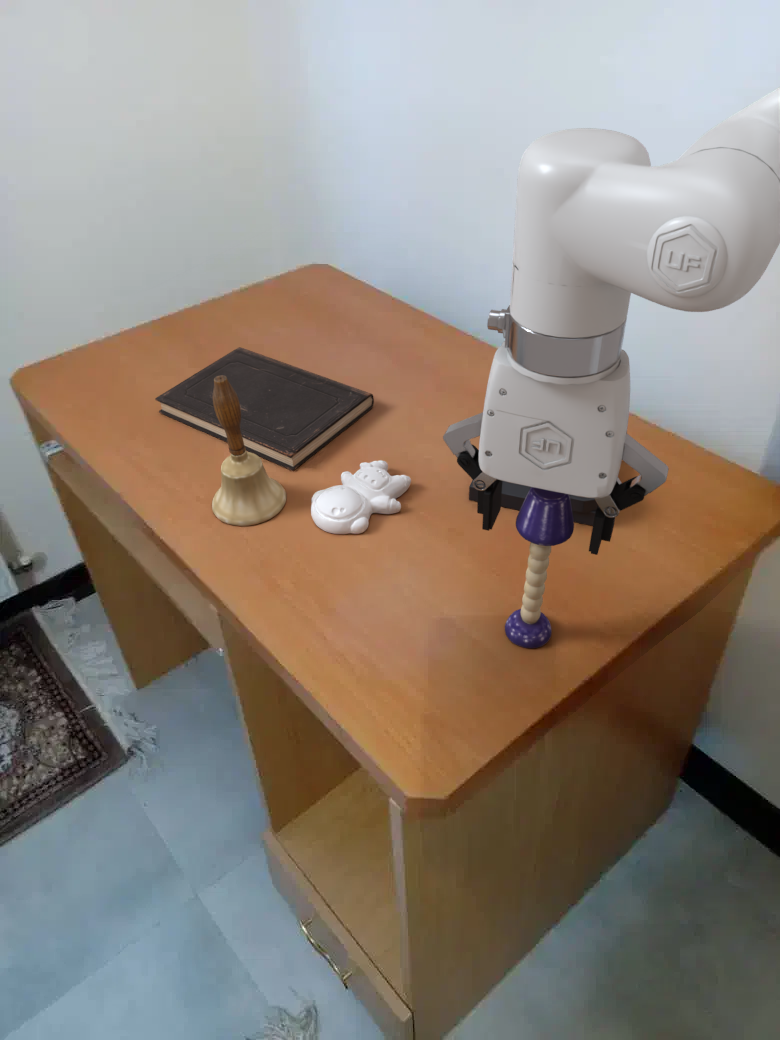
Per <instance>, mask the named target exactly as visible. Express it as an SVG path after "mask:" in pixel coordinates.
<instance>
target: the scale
mask: <svg viewBox="0 0 780 1040" xmlns="http://www.w3.org/2000/svg"><path fill="white" fill-rule="evenodd" d="M473 481H474V480H473V479H471V482H470V484H469V486H468V500H469V501H474V502H477V503H478V490H477V489H475V488H474V486H473ZM530 488H531V487H530V486H525V485H520V484H515V483H510V482H506V481H502V497H501V508H505V509H512V510H515V511H520V509H521V506H522V504H523V502H524V500H525V498H526V496H527V494H528V492H529V490H530ZM570 500H571V506H572V513H573V520H574V523H577V524H581V525H586V526H592V527H593V522H594V517H595V513H596V510H597V506H598V504H597V502H596V500H595V499H594V498H586V497H580V496H575V495H570Z"/></svg>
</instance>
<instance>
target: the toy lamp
mask: <svg viewBox="0 0 780 1040" xmlns="http://www.w3.org/2000/svg"><path fill="white" fill-rule="evenodd" d="M515 528H516V532H518V534H519V535H520V537H522V538H523V539H524V540H526V541H527V542H530V544H529V547H528V551H529V555H528V558H527V568H526V569H525V582H524V585H523V592H524V593H523V595H522V600H521V603H522V605H521V607H520V608H519V609H517V610H514V611H513V612H512V613H511V614H510V615H509V616H508V618H507V619H506V621H505V624H504V632H505V635H506V637H507V639H508V640H509V641H510V642H511V643H513V644H514V645H516V646H518V647H520V648H521V647H522V648H525V649H536V648H540V647H543V646H545V644H547V643H548V642H549V641H550V639H551V637H552V632H553V631H552V625H551V621H550V620H549V618H548V617H547V616H546V615H545V613H543V612H542V611H541V607H542V605H543V603H544V602H543V601H544V598H543V595H544V594H545V591H546V585H545V583H546V581H547V578H548V571H547V570H548V568H549V566H550V555H551V553H552V547H555V546H558V545H561V544H563V543H565V542H567V541H568V540H570V538H571V537H572V535H573V534H574V530H575V529H574V528H575V522H574V520H573V513H572V506H571V500H570V495H569V494H564V493H559V492H554V491H549V490H544V489H539V488H534V487H531V488H530V490H529V492H528V494H527V496H526V498H525V500H524V502H523V504H522V506H521V509H520V510H518V513H517V516H516V518H515Z"/></svg>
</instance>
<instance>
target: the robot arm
mask: <svg viewBox="0 0 780 1040" xmlns="http://www.w3.org/2000/svg"><path fill="white" fill-rule="evenodd" d="M521 155H522V156H521V158H520V161H519V164H518V170H517V171H518V172H517V179H516V195H515V199H516V200H515V213H514V214H515V215H514V216H515V217H514V230H513V247H512V263H511V280H510V281H511V282H510V293H509V294H510V296H509V304H508V306H507V308H506V309H505V308H502V309H500V310H497V309H490V310H489V314H488V316H487V323H486V325H487V329H488V330H490V331H497V333H498V334H502V337H503V339H504V341H503V342H502V343H501V344H500V346H499V347H497V349H496V350H495V353H494V355H493V359H492V362H491V366H490V370H489V375H488V380H487V385H486V390H485V396H484V401H483V402H484V403H483V408H482V409H483V410H482V412H480V413H477V414H475V415H472V416H470V417H467V418H464V419H462V420H459V421H456V422H455V423H452V424H450V425H448V427H447V428H446V430H445V432H444V433H443V436H442V439H443V441H444V443H445V444H446V446H447V447H448V449H449V450H450V452H451V454H453V456H455V458H456V463H457V465H458V466H459V467H460V468H461V469H462V470H463V471H464V472H465V473H466V474H467V475H468V477H469V478H471V480H474V481H473V486H474V488H475V489H477V490H478V502H477V503H476V504H477V508H476V509H477V510H476V512H477V514H480V515H482V526H481V527H482V530H484V531H491V530H493V528H494V525H495V523H496V521H497V518H498V517H499V515H500V512H501V508H502V507H501V497H502V481H506V482H510V483H515V484H520V485H525V486H530V487H534V488H539V489H544V490H549V491H554V492H559V493H564V494H569V495H575V496H580V497H586V498H594V499H595V500H596V502H597V504H598V506H597V510H596V513H595V517H594V522H593V526H592V528H591V535H590V541H589V546H588V552H590V555H591V554H592V555H596V556H598V554H599V550H600V548H601V544H602V541H605V542H609V543H610V542H611V539H612V536H613V531H614V527H615V521H616V517H618V516H619V514H620V513H621V511H624V510H625V509H628V508H630V507H632V506H634V505H635V504H638V503H640V502H642V501H644V499H645V497H646V496H647V495H648V494H651V493H653V492H654V491H656V489H658V488H659V487H661V486H662V485H663V484H665V483H666V481H667V479H668V474H669V469H670V468H669V466H668V464H666V463H665V462H663V460H661V459H660V458H658V456H656V455H655V454H654V453H653V452H651V451H650V450H649V449H647V448H646V447H645V446H644V445H642V444H641V443H640V442H639V441H638V440H636V439H635V438H633V437H632V436H631V435H630V434H629V433H628V426H629V418H630V417H629V416H630V407H631V406H630V405H631V366H630V358H629V357H630V356H629V354H628V353H627V352H626V350H624V349H623V343H624V337H625V331H626V326H627V319H628V312H629V308H630V302H631V301H630V300H631V294H633V295H636V296H637V297H640V298H643V299H645V300H647V301H649V302H652V303H654V304H656V305H657V304H658V305H660V306H663V307H666V308H668V309H673V310H678V311H681V312H688V313H705V312H707V313H708V312H712V311H716V310H721V309H723V308H726V307H728V306H730V305H732V304H734V303H736V302H738V301H739V300H741V299H742V298H743V297H745V296H746V295H747V294H748V293H749V292H750V291H751V290H752V289H753V288H754V287H755V286H756V285H757V283H758V282H759V281H760V280H761V278H762V277H763V275H764V274H765V272H766V270H767V269H768V266H769V265H770V263H771V261H772V259H773V257H774V256H775V253H776V252H777V250H778V248H779V246H780V86H779V87H777V88H775V89H774V90H772V91H770V92H768V93H767V94H765V95H763V96H762V97H760V98H758V99H757V100H755V101H754V102H751V103H750V104H748V105H746V106H745V107H743V108H741V109H740V110H738V111H737V112H735V113H733V114H732V115H730V116H729V117H727V118H725V119H724V120H722V121H720V122H719V123H717V124H716V125H714V126H713V127H712V128H710V129H708V130H707V131H706V132H704V133H703V134H702V135H701V136H700V137H698V138H697V139H696V140H695V141H694V142H693V143H692V144H691V145H690V146H689V147H688V148H686V149H685V151H683V152H682V154H681V155H679V157H678V158H677V159H675V160H672V161H669V162H667V163H664V164H661V165H655V166H652V164H651V159H650V154H649V152H648V149H647V148H646V146H644V144H643V143H642V142H641V141H640V140H639V139H637V138H635V137H634V136H632V135H629V134H626V133H623V132H620V131H616V130H612V129H606V128H596V127H595V128H594V127H593V128H591V127H578V128H568V129H567V128H566V129H561V130H556V131H553V132H549V133H546V134H543V135H540V136H539V137H537V138H536V139H534V140H533V141H531V142H530V143H529V144H528V146H527V147H526V148H525V150H524V151H523V153H522V154H521ZM477 437H479V443H478V447H477V446H476V445H474V444H472V443H471V440H473V439H475V438H477ZM622 461H623V462H624V463H625V464H626V465H628V466H629V467H631V469H633V470H634V471H635V472H636V473H638V474H639V475H636V476H633V477H631V478H629V479H627V480H625V481H623V482H622V481H621V480H620V477H619V474H620V470H621V467H622Z"/></svg>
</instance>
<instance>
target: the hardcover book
mask: <svg viewBox="0 0 780 1040" xmlns="http://www.w3.org/2000/svg"><path fill="white" fill-rule="evenodd" d="M220 375H224V376H226V377H227V379H228V381H229V383H230V384H231V386H232V387H233V389H234V390H235V392H236V394H237V397H238V399H239V403H240V408H241V423H240V431H241V435H242V438H243V442H244V445H245V448H246V451H247V452H251V453H254V454H256V455H257V456H259V457H260V458H261V459H264V460H267V461H269V462H271V463H273V464H276V465H277V466H280V467H282V468H284V469H287V470H289V471H291V472H294V471H295V470H296V469H297V468H299V467H300V466H301V465H303V464H304V463H306V461H308V460H309V459H311V458H312V457H313V456H314V455H315V454H316V453H318V452H319V451H321V450H322V449H323V448H325V446H327V445H328V444H329V443H331V442H332V441H333V440H334V439H336V438H337V437H338V436H339V435H340V434H342V433H343V432H344V431H346V430H347V429H348V428H349V427H351V426H352V425H353V424H354V423H356V422H357V421H359V419H361V418H362V417H363V416H364V415H366V414H367V413H368V412H370V411H371V410H372V409H373V407H374V406H375V405H374V404H375V399H374V394H372V393H371V392H368V391H365V390H363V389H359V388H357V387H354V386H351V385H348V384H345V383H343V382H339V381H337V380H334V379H331V378H328V377H326V376H323V375H320V374H317V373H314V372H311V371H309V370H306V369H303V368H300V367H297V366H294V365H291V364H289V363H286V362H283V361H280V360H278V359H275V358H272V357H270V356H267V355H264V354H261V353H258V352H255V351H253V350H251V349H247V348H244V347H242V346H239V347H236V348H235V349H234V350H232V351H230V352H228V353H227V354H225V355H224V356H222V357H220V358H218V359H217V360H215V361H213V362H212V363H210V364H209V365H207V366H205V367H204V368H203V369H201V370H199V371H197V372H196V373H194V374H193V375H191V376H189V377H187V378H186V379H184V380H182V381H181V382H179V383H178V384H176V385H174V386H173V387H171V388H170V389H167V390H166V391H164V392H163V393H162V394H160V395H157V397H155V401H156V402H159V403H160V407H161V409H160V410H158V413H159V414H161V415H164V416H165V417H168V418H170V419H173V420H175V421H177V422H179V423H182V424H184V425H187V426H189V427H191V428H193V429H196V430H198V431H200V432H202V433H205V434H206V435H209V436H212V437H214V438H216V439H219V440H220V441H223V442H225V443H227V444H228V441H227V436H226V433H225V430H224V428H223V427H222V425H221V424H220V422H219V420H218V418H217V416H216V413H215V410H214V405H213V390H214V378H215V377H217V376H220Z"/></svg>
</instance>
